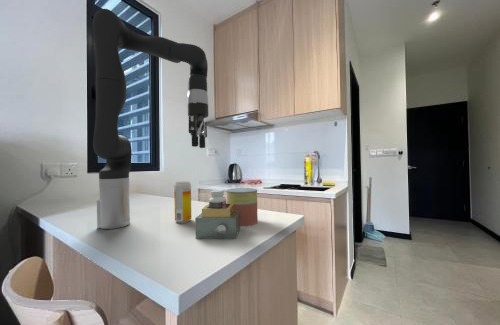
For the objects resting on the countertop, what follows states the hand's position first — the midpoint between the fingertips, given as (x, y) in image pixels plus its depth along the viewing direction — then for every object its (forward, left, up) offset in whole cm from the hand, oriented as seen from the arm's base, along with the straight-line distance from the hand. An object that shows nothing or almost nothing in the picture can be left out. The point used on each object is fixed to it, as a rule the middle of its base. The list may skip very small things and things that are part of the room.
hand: (198, 147), depth 80 cm
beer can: (-7, +1, -28) cm, 29 cm away
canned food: (+16, 0, -28) cm, 33 cm away
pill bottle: (+10, -12, -25) cm, 29 cm away
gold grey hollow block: (+10, -13, -28) cm, 33 cm away
